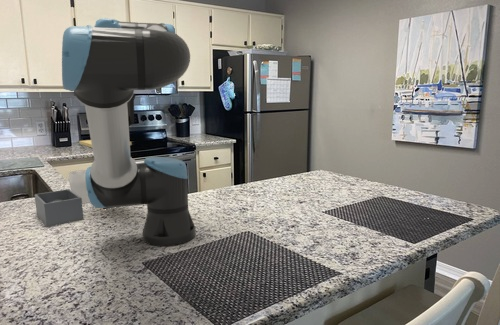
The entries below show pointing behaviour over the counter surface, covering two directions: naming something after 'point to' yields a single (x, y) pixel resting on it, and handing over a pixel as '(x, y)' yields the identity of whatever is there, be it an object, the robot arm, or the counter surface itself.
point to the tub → (59, 207)
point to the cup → (79, 184)
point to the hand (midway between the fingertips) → (117, 147)
